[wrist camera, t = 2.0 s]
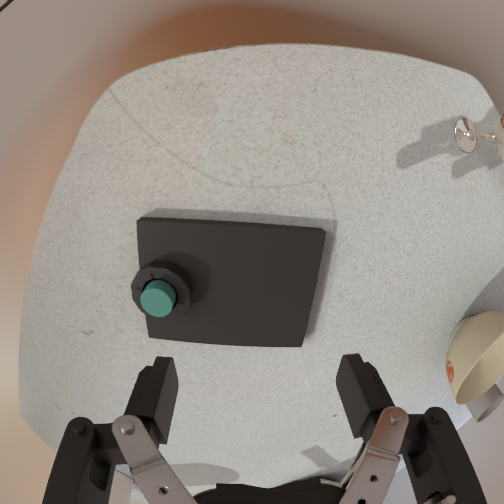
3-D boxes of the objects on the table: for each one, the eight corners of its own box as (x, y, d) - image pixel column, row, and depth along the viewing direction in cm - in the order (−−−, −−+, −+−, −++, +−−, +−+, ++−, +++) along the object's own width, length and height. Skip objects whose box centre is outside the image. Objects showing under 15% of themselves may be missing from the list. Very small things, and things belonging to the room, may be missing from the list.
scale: (147, 330, 30) (140, 345, 28) (136, 216, 25) (124, 225, 23) (299, 339, 32) (304, 356, 29) (321, 228, 27) (330, 237, 24)
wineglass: (483, 134, 22) (552, 144, 11) (469, 166, 24) (541, 186, 13) (459, 102, 21) (533, 102, 10) (445, 136, 23) (523, 145, 12)
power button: (147, 305, 26) (142, 315, 25) (144, 278, 25) (138, 286, 23) (177, 308, 26) (173, 318, 25) (175, 280, 25) (171, 289, 24)
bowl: (468, 359, 37) (492, 391, 28) (412, 373, 36) (437, 415, 27) (502, 288, 31) (536, 317, 22) (451, 291, 30) (493, 329, 21)
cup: (463, 379, 40) (484, 408, 30) (487, 363, 39) (508, 389, 30) (455, 399, 43) (472, 427, 34) (478, 384, 42) (496, 409, 33)
